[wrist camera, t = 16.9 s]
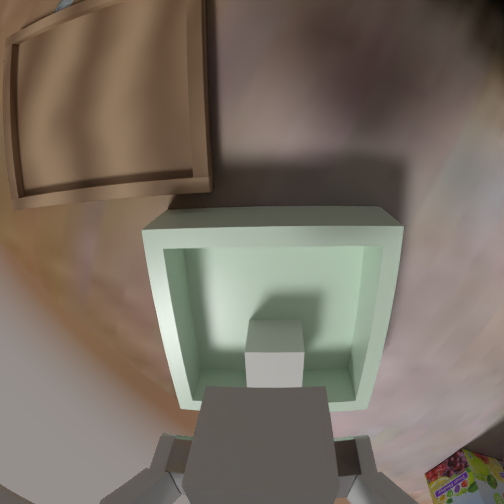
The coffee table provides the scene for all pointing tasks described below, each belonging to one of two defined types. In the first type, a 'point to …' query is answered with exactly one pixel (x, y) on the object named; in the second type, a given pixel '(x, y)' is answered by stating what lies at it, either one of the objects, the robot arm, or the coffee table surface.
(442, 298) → the coffee table surface
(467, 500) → the snack box
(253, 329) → the stone cube
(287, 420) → the stone cube
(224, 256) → the green bin
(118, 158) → the walnut tray
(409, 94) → the coffee table surface
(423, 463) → the coffee table surface
